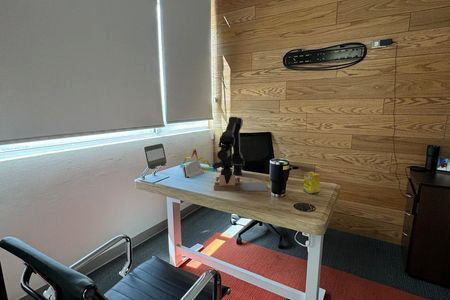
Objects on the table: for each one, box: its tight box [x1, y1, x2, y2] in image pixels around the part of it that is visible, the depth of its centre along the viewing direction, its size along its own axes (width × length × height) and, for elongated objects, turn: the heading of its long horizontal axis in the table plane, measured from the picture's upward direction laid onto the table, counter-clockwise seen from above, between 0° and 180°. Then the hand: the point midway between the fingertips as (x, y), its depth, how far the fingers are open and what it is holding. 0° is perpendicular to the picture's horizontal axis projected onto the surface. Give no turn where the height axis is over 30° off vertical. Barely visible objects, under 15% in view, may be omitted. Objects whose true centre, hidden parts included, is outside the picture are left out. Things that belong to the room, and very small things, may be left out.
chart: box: [179, 149, 218, 172], centre depth 182 cm, size 30×3×15 cm, turn 66°
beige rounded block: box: [182, 161, 205, 179], centre depth 169 cm, size 17×5×10 cm, turn 149°
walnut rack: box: [213, 176, 241, 191], centre depth 147 cm, size 17×15×2 cm
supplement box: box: [303, 171, 321, 195], centre depth 135 cm, size 6×6×11 cm
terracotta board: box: [218, 174, 236, 186], centre depth 141 cm, size 2×9×8 cm, turn 87°
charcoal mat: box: [241, 181, 269, 192], centre depth 144 cm, size 14×14×1 cm
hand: (227, 182), depth 141 cm, fingers open, 4 cm apart
